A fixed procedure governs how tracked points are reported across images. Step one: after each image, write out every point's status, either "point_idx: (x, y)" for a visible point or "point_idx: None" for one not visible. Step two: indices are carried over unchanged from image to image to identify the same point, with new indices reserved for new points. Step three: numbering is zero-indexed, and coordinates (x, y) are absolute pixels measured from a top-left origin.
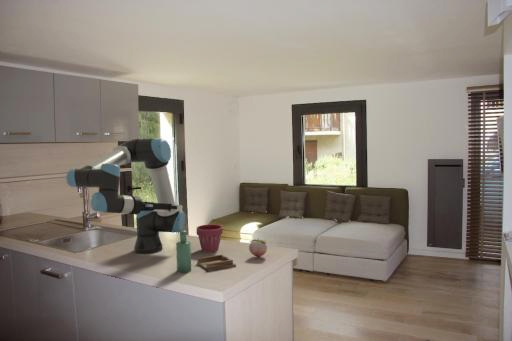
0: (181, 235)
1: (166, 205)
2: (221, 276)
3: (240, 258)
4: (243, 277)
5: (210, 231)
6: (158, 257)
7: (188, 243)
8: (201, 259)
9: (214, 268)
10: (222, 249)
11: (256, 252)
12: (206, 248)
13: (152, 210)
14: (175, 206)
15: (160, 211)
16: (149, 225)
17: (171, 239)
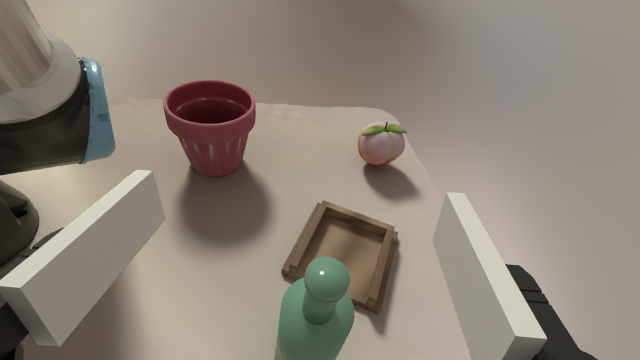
0: (329, 304)
1: None
2: (450, 328)
3: (347, 183)
4: None
5: (239, 124)
6: None
7: (349, 305)
8: (300, 259)
9: (384, 290)
10: (247, 148)
11: (386, 160)
12: (221, 169)
13: (40, 339)
14: (538, 296)
15: (132, 255)
16: None
17: None
